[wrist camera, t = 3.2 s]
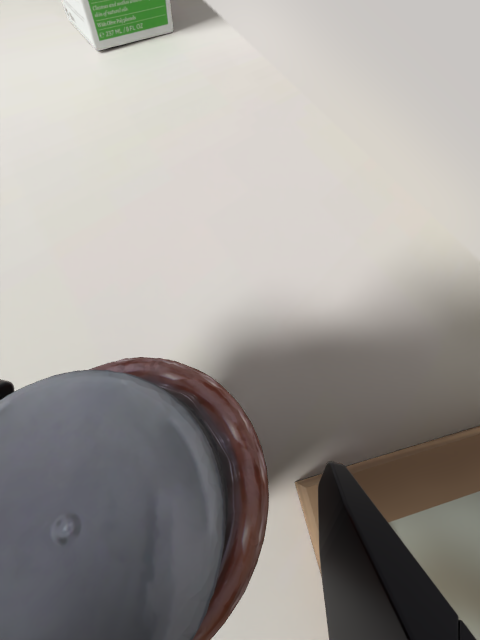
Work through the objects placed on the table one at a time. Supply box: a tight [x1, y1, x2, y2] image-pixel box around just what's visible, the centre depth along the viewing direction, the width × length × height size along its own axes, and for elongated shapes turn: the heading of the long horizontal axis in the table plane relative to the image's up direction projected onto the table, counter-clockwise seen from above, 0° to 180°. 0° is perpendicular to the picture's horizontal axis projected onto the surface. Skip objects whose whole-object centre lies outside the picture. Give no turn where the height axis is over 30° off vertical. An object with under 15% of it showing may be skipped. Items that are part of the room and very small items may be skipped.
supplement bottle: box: [0, 357, 269, 640], centre depth 9 cm, size 6×6×11 cm
